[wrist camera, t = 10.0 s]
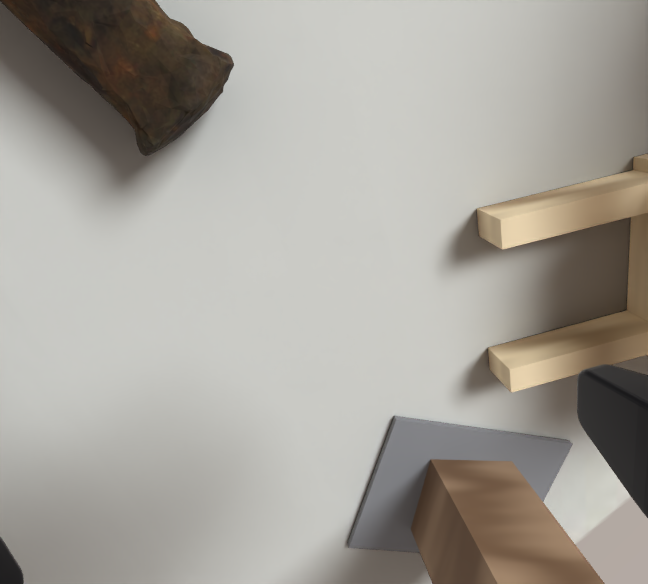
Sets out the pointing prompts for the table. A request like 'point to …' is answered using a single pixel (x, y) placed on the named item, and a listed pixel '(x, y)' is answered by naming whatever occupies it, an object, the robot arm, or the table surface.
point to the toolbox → (560, 218)
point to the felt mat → (412, 464)
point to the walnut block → (492, 529)
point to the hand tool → (132, 60)
